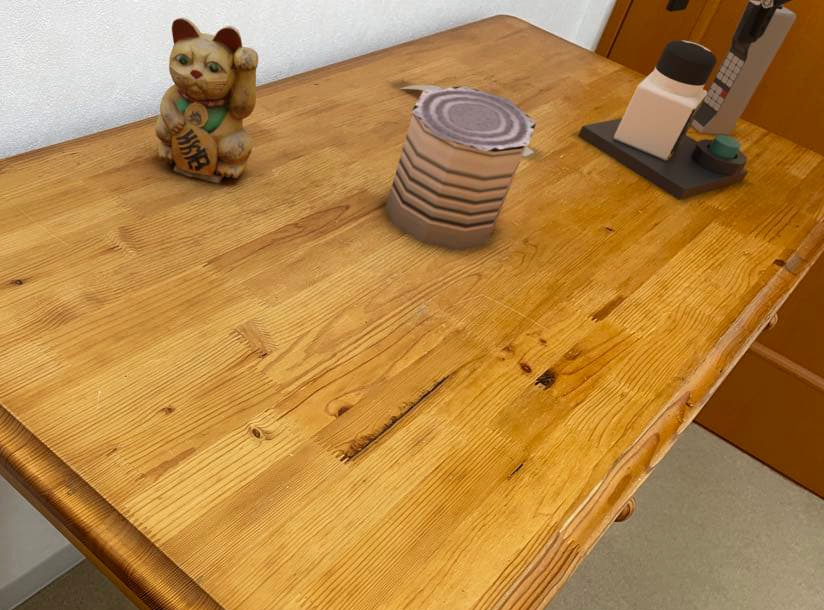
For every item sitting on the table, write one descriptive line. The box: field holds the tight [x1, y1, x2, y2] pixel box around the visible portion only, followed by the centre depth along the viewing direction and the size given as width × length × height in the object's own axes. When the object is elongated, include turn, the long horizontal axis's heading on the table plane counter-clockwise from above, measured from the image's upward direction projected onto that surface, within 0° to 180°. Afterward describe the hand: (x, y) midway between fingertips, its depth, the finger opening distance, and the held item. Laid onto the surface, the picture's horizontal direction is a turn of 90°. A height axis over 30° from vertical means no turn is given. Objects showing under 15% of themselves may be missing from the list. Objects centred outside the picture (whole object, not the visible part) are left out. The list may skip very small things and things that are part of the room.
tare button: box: [708, 134, 742, 159], centre depth 105 cm, size 3×3×2 cm
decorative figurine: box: [155, 17, 259, 184], centre depth 82 cm, size 10×8×15 cm
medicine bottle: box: [614, 39, 718, 161], centre depth 103 cm, size 7×7×12 cm
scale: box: [577, 117, 749, 201], centre depth 107 cm, size 16×14×4 cm
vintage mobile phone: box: [690, 0, 797, 136], centre depth 110 cm, size 4×5×25 cm
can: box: [385, 85, 537, 251], centre depth 83 cm, size 11×11×12 cm
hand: (709, 25), depth 97 cm, fingers open, 9 cm apart
